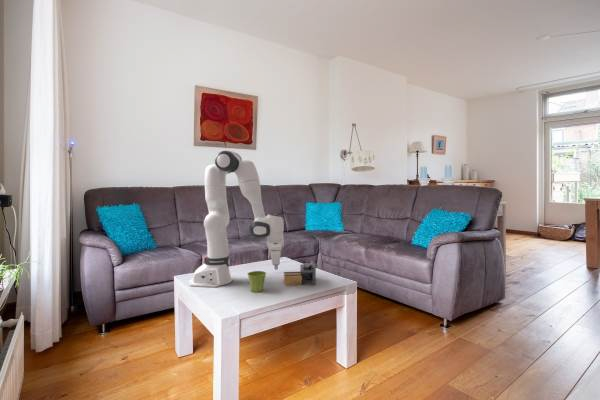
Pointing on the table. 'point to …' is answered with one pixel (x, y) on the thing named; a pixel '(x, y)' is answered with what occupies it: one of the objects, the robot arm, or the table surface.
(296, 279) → the block
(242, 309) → the table surface
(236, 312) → the table surface
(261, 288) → the plant pot
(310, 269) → the bracket
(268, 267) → the table surface
